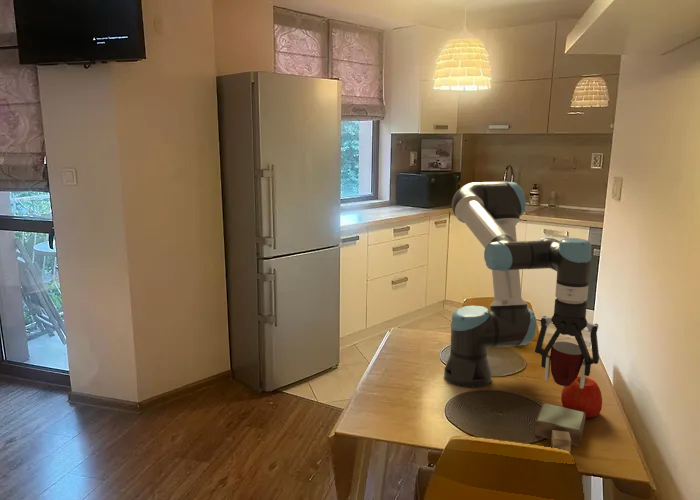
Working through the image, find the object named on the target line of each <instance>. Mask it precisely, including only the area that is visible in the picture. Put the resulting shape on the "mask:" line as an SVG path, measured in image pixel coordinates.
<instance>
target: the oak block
mask: <svg viewBox="0 0 700 500" xmlns="http://www.w3.org/2000/svg"><path fill="white" fill-rule="evenodd" d="M550 441H551V442H550V444H551V445H550V446H551V448H552V447H554V448H558V449H563V450H567V451H569V452H570V453H571V447H572V445H571V438H570V434H569V432H564V431H556V430H552V439H550Z"/></svg>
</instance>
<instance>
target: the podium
mask: <svg viewBox="0 0 700 500" xmlns="http://www.w3.org/2000/svg"><path fill="white" fill-rule="evenodd" d="M585 416H586V413H584V412H581V411H577V410H572V409H568V408H564V407H563V406H558V405H554V404H550V403H546V402H545V403H542V405H541V407H540V410H539V412H538V415H537V417H536V420H535V423H534V436H536V437H537V436H538V437H541V438H543V439H544V438H545V439H549V440H551V439H552V430H556V431H564V432H569V434H570V438H571V446H575V447H580V445H581V441H582V437H583V434H584V429H585V423H586V418H585Z"/></svg>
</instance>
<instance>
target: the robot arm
mask: <svg viewBox="0 0 700 500" xmlns="http://www.w3.org/2000/svg"><path fill="white" fill-rule="evenodd" d="M454 193H455V194H454V195H453V198H452V200H451V209H452V213H453V215H454V216H455V217H456V219H457V220H458V221H459V222H460V223H463V224H465V226H467V228H468V229H469V230H470V232H471V233H472V234H473V235H474V237H475V238H476V239H477V240H478V242H479V243H480V244H481V246H482V247H483V249H484V251H483V252H484V253H483V254H484V255H483V258H484V262H485V265H486V268H488V269H489V270H491V272H492V276H491V277H492V287H493V288H492V289H493V297H494V299H493V301H492V302H491V304H490V305H489V308H490V310H489V309H488V308H487V307H486V306H482V305H467V306H462V307H459V308H457V309H456V310H455V311H453V313H452V315H451V321H450V322H451V323H450V328H451V329H450V353H449V356H448V359H447V362H446V364H445V367H444V374H443V376H444V377H443V378H444V379H445V380H446V381H447V382H448V383H450V384H451V385H455V386H458V387H462V388H471V389H472V388H473V389H474V388H475V389H476V388H482V387H486V386H487V385H489V384H491V382H492V376H493V375H492V368H491V366H490V364H489V359H488V348H499V347H504V348H505V347H519V346H525V345H528V344H530V343H531V342H532V341H533V339H534V338H535V335H536V332H537V331H536V329H537V317H536V316H535V313H534V311H533V310H532V309H530V308H528V302H526V301H525V300H524V299H523V298H522V289H521V288H522V287H521V277H520V270H540V269H541V270H542V269H551V270H554V271H556V285H555V298H556V299H554V309H553V315H552V316H546V315H543V316H542V317H541V319H540V326H541V327H540V330H539V334H538V337H537V338H538V339H537V341H536V344H535V349H534V352H535V353H536V354H539V355H541V368H544V380H543V381H544V382H548V381H549V379H550V373H551V358H550V354H551V353H549V352H551V348H552V346H553V344H554V343H555V342H557V339H558V337H559V336H560V335H562V336H567V335H568V336H570V337H574V338H575V341H576V344H577V345H578V346H579V348H580V351H581V353H582V356H583V359H584V360H583V363H582V366H581V368H580V377H581V380H580V388H582V389H583V387H584V382H585V377H589V376H590V374H591V365H592V364H595V365H597V364H598V363H599V361H600V353H599V344H598V342H599V341H598V333H597V332H598V330H599V324H598V323H594V324H593V323H592V322H591V323H590V322H588V321H587V317H586V316H587V306H588V303H587V300H588V295H589V282H590V273H591V271H590V270H591V263H592V257H593V256H592V243H591V242H590V241H589V240H588V239H585V238H577V237H576V238H575V237H566V238H565V237H564V238H562V239H560V240H558V239H556V238H552V237H541V238H539V239H538V240H525V241H524V240H523V241H522V240H519V241H517V227H516V226H517V225H518V223H519V222H521V221H520V217H522V216H523V214H524V213H525V212H526V208H527V207H526V205H527V204H526V201H527V200H526V197H525V193H524V190H523V189H522V187H521V186H520V185H519V184H518V183H517V182H514V181H504V180H502V181H482V182H480V181H479V182H477V181H475V182H469V183H466V184H464V185H462V186H461V187H460V188H459V189H458V190H457V191H456V192H454ZM551 323H552V324H553V326H554V327H555V331H554V334H553V335H552V336H551V337H550V339H549V341H548V342H547V344H546V346H545V348H543V344H544V341H545V337H546V333H547V329H548V326H550V325H551ZM586 328H587V331H588V332H589V333H590V344H591V345H590V346H591V355H592V357H591V355H590V351H589V349H588V347H587V345H586V342H585V339H584V335H583V333H582V331H583V330H585V329H586Z"/></svg>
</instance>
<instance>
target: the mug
mask: <svg viewBox="0 0 700 500" xmlns="http://www.w3.org/2000/svg"><path fill="white" fill-rule="evenodd" d="M549 354H550V358H551V360H550V373H551V375H552V378H553V381H554V383H556V384H557V385H559V386H562V387H564V386H570V385H571V384H572V383H573V382H574V380H575V379H576V378H577V377H579V373H580V372H581V369H582V363H583V361H584V359H583V356H582V353H581V351H580V348H579V345H578V344H577V343H576V344H575V343H572V342H568V341H555V343H554V344H553V346H552V348H551V349H550V353H549Z"/></svg>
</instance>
